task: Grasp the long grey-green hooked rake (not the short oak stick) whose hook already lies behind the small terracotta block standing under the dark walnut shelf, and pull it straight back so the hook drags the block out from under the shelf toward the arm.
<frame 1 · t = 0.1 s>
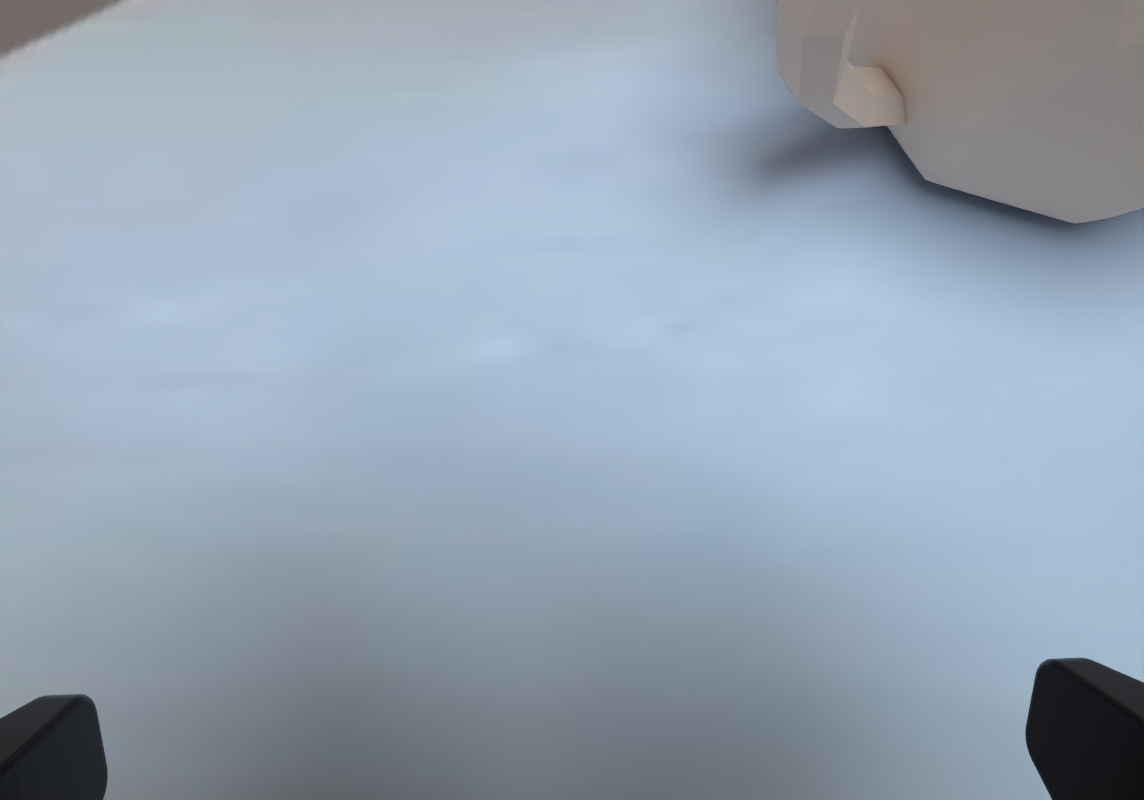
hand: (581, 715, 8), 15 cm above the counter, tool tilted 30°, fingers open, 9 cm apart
watering can: (1047, 47, 29), on the counter
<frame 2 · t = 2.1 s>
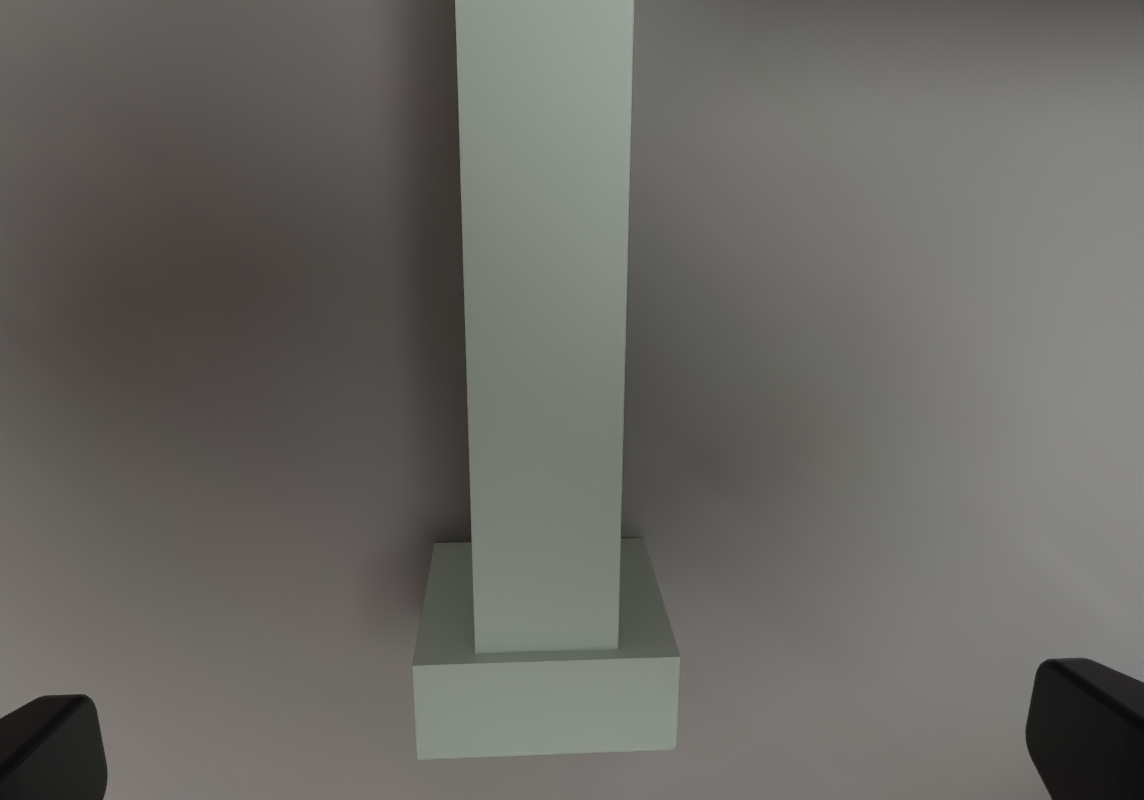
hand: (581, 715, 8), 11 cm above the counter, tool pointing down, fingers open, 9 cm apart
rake: (536, 79, 17), on the counter
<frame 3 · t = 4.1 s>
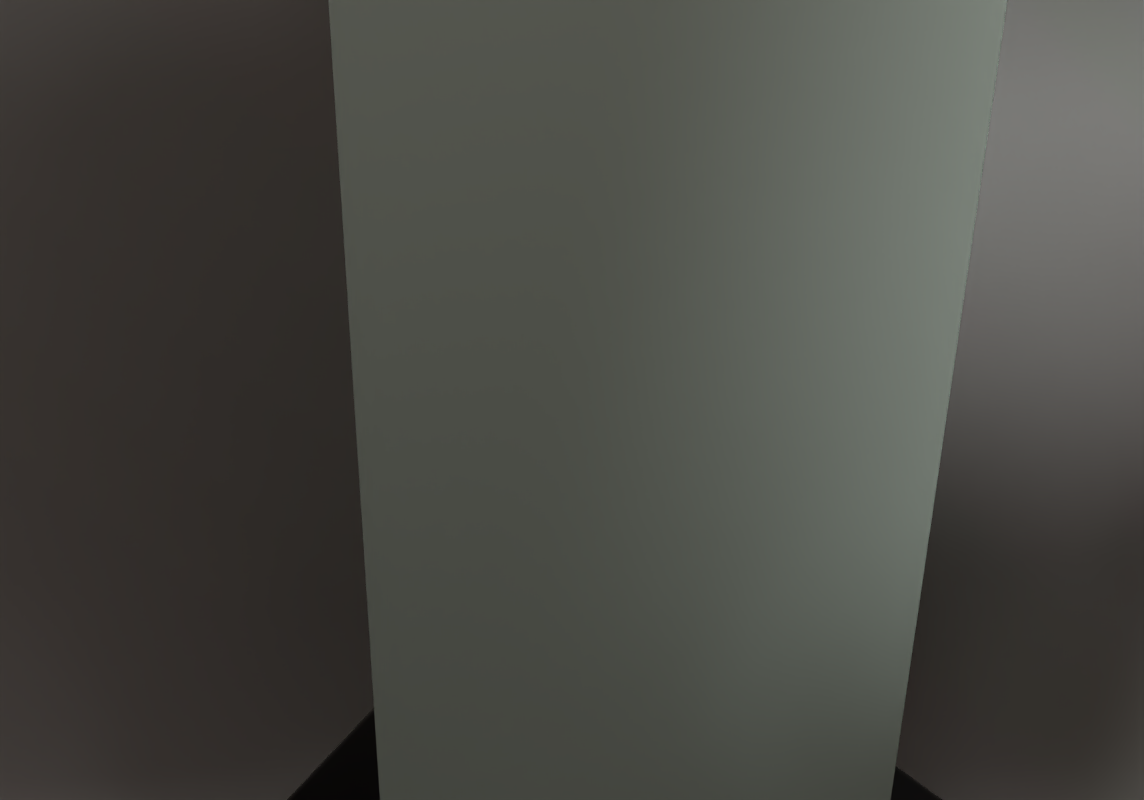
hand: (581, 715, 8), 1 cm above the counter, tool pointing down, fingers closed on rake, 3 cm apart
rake: (583, 21, 8), on the counter, touching gripper
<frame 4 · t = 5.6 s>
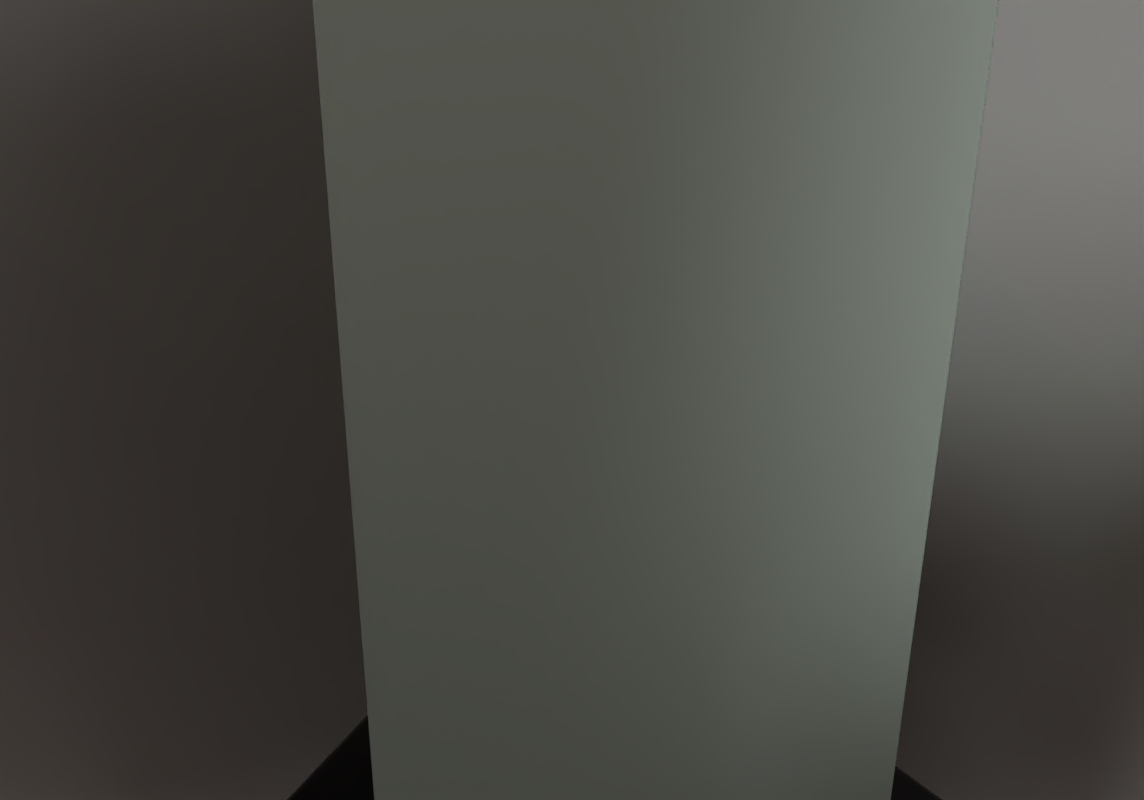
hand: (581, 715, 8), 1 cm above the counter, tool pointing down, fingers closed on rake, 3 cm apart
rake: (577, 8, 7), on the counter, touching gripper
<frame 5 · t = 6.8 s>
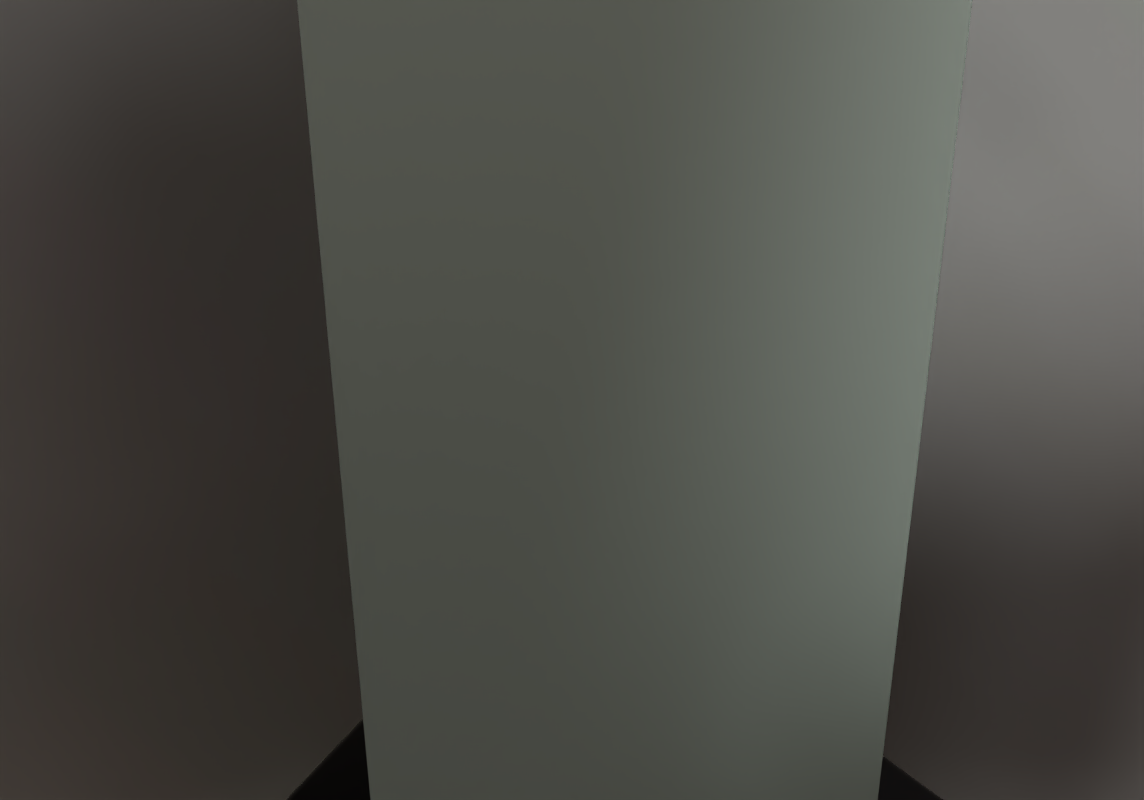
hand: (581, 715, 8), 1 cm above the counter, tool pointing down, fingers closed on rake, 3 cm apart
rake: (570, 1, 8), on the counter, touching block, gripper
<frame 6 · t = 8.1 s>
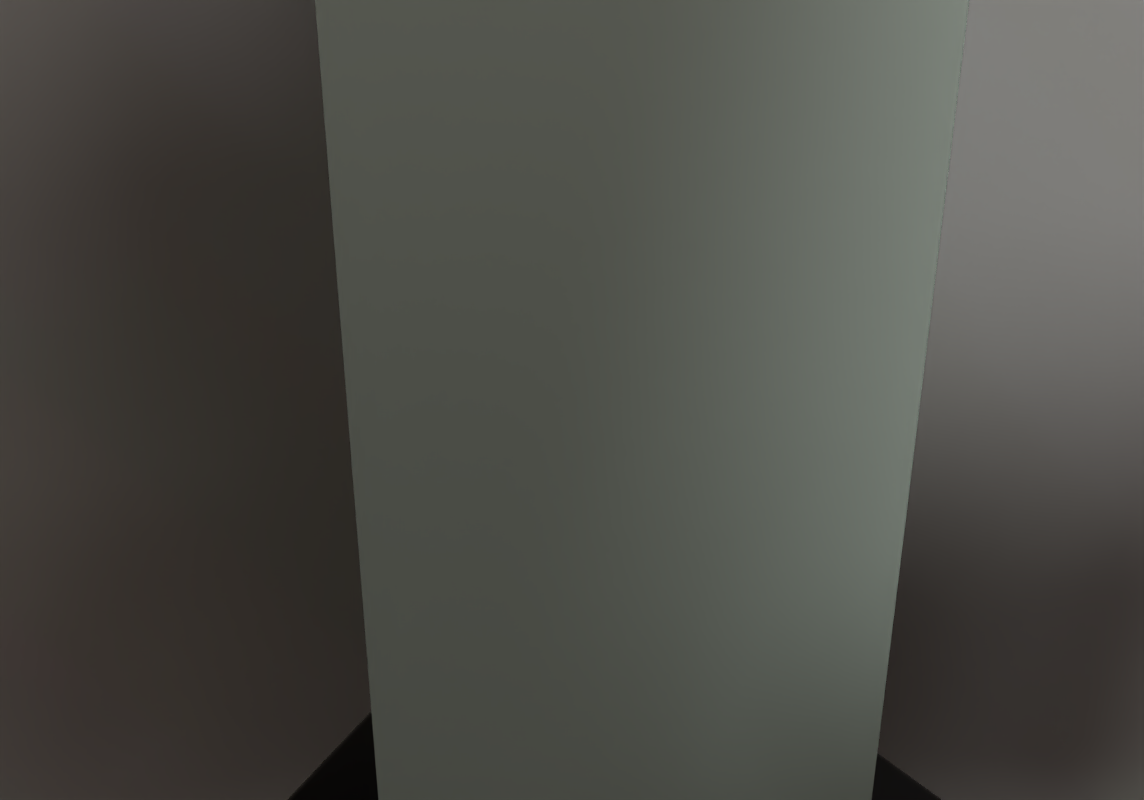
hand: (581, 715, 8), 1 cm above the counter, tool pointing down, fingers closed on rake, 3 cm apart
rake: (573, 2, 8), on the counter, touching block, gripper
when the fingers open (1 cm above the counter, at t = 9.1 s): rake stays where it is, on the counter.
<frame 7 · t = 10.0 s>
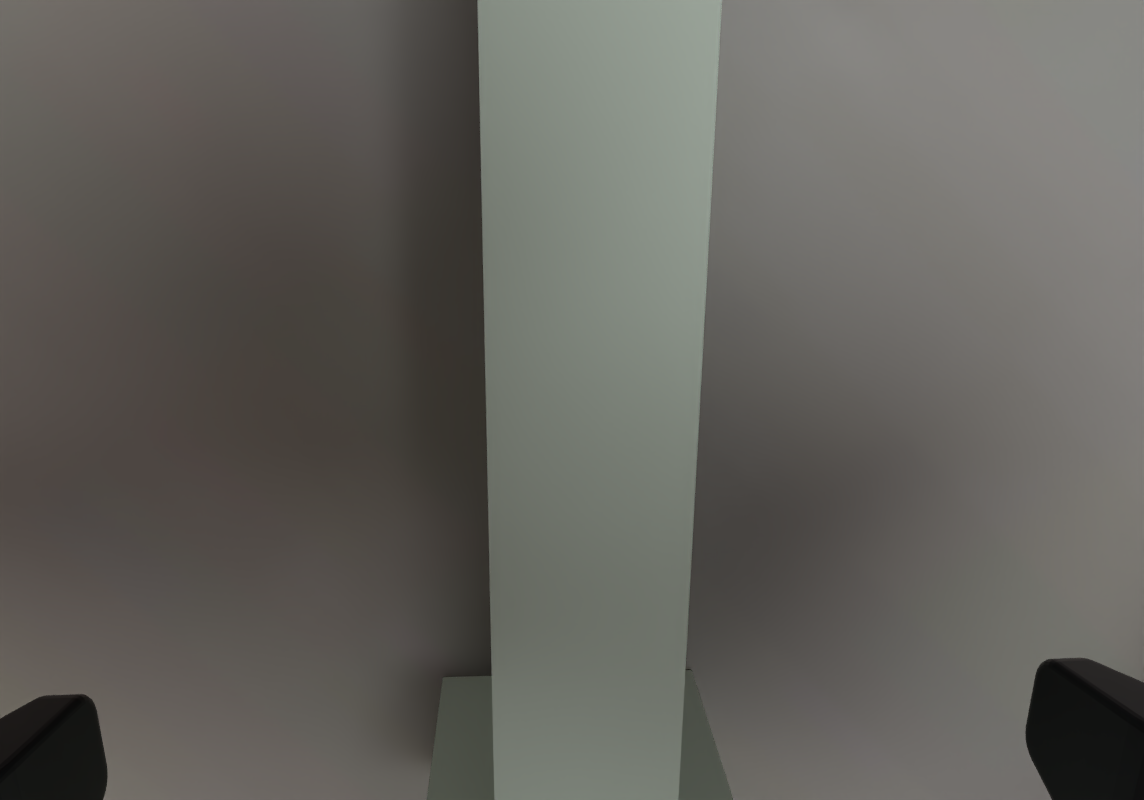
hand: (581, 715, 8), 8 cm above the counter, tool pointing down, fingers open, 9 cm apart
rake: (573, 131, 14), on the counter
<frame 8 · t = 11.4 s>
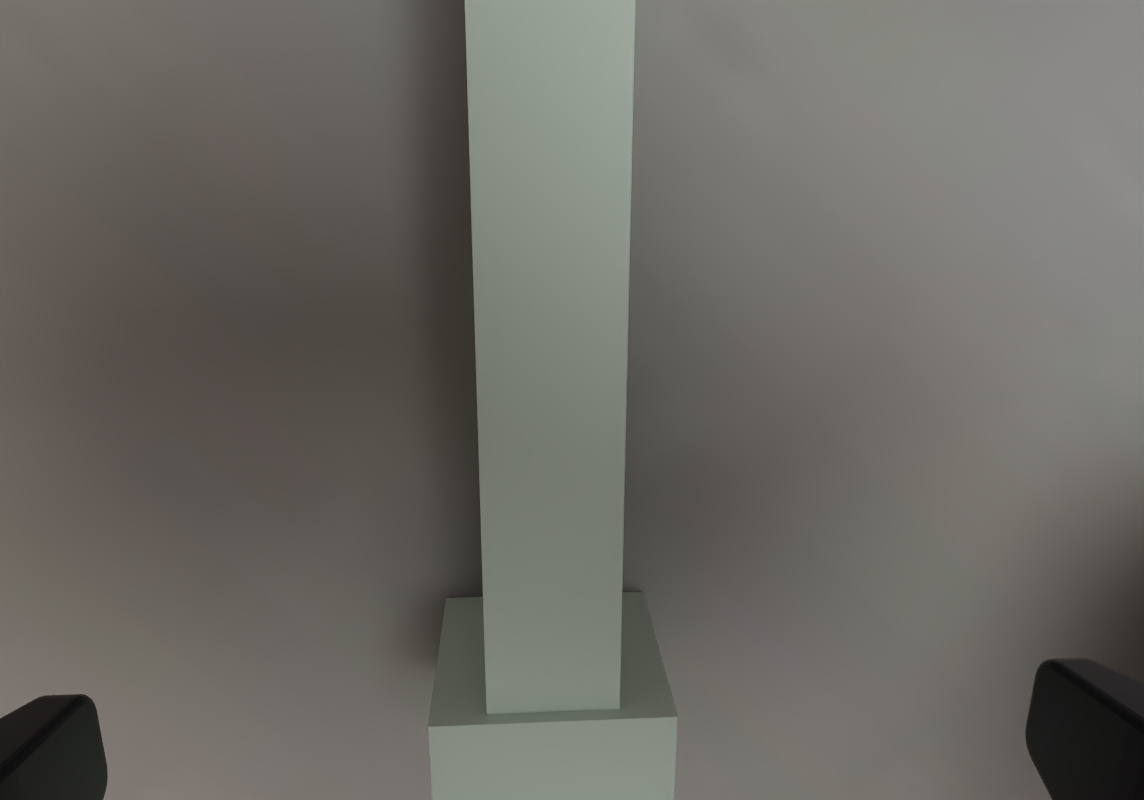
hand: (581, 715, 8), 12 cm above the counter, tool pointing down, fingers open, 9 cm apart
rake: (542, 171, 19), on the counter
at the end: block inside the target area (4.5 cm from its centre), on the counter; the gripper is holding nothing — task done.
